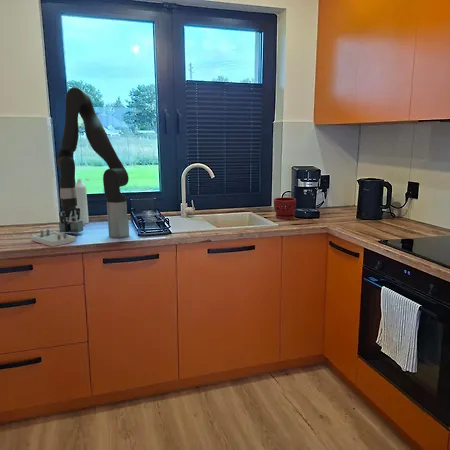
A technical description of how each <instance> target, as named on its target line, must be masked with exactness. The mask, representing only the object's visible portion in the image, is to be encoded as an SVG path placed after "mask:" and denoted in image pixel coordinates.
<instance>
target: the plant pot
mask: <svg viewBox="0 0 450 450" xmlns="http://www.w3.org/2000/svg"><path fill="white" fill-rule="evenodd" d="M296 207H297V199H296V198H294V197H291V196H290V197H286V196H284V197H282V196H281V197H276V198H274V199H273V208H274V212H275V218H276V219H279V220H285V221H286V220H293V219H295V218H296V217H295V216H296V214H295V213H296V212H295V211H296V209H297V208H296Z"/></svg>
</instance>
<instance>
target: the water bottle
mask: <svg viewBox="0 0 450 450" xmlns="http://www.w3.org/2000/svg"><path fill="white" fill-rule="evenodd" d="M84 179H85V180H84V181H91V178H89V177H88V178H84ZM76 180H77V181H76V182H75V188H76V195H77V206H76V208H80V219H79V220H78V221H83V225H84V224H88V223H89V222H90V221H89V208H88V207H89V206H88V197H87V195H88V194H87V186H86V185H85V183H84V182H83V180H82V178H77V179H76ZM77 217H78V215H77Z"/></svg>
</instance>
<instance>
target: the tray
mask: <svg viewBox="0 0 450 450" xmlns="http://www.w3.org/2000/svg"><path fill="white" fill-rule="evenodd" d="M30 237H31V241H32V242H35V243H40V244H42V245H45V246H49V247H56V246H57V245H58V246H61V245H65V244H70V243H74V242H77V236H74V235H72V234H71V235H70V234H67V233H64V232H60V231H55V230H54V231H50V228H48V229H46V232H44V230H43V229H41V230H40V233H39V234H34V235H30Z"/></svg>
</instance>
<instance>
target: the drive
mask: <svg viewBox="0 0 450 450" xmlns="http://www.w3.org/2000/svg"><path fill="white" fill-rule="evenodd" d="M66 221H67V220H66ZM69 224H70V232H69V233H73V234H74V233H76V234H77V233H79V234H80V233H81V232H83V231H84V224H83V221H72V219H71V220H70V222H69ZM58 229H59V233H67V232H66V231H65V224H61V221H59V222H58Z"/></svg>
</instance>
